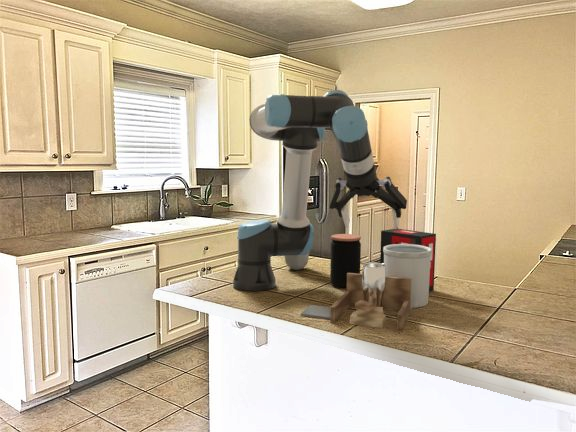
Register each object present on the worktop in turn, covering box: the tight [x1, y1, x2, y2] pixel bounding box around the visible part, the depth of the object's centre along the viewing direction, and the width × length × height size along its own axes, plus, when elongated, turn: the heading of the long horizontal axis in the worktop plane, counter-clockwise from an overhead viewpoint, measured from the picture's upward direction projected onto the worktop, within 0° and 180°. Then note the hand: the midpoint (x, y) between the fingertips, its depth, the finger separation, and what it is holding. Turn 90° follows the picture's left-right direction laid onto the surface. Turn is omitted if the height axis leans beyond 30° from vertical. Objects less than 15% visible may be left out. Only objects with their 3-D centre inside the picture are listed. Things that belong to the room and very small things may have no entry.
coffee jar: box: [329, 233, 362, 290], centre depth 170 cm, size 11×11×18 cm
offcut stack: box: [349, 300, 387, 329], centre depth 131 cm, size 9×5×6 cm, turn 69°
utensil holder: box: [383, 244, 432, 309], centre depth 150 cm, size 15×15×18 cm
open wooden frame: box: [330, 273, 411, 333], centre depth 136 cm, size 19×19×10 cm
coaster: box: [300, 304, 331, 320], centre depth 140 cm, size 9×9×1 cm
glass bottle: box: [284, 215, 310, 271], centre depth 194 cm, size 10×10×28 cm
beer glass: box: [361, 261, 386, 315], centre depth 137 cm, size 7×7×15 cm
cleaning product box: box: [379, 228, 437, 293], centre depth 167 cm, size 16×9×20 cm, turn 41°
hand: (371, 224), depth 130 cm, fingers open, 13 cm apart
